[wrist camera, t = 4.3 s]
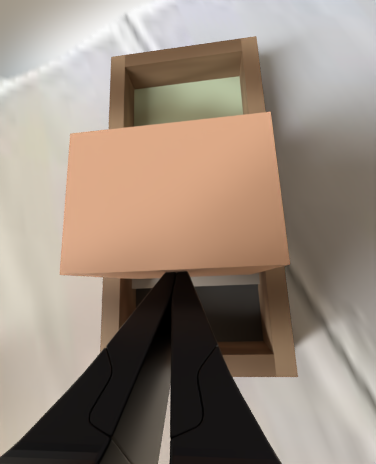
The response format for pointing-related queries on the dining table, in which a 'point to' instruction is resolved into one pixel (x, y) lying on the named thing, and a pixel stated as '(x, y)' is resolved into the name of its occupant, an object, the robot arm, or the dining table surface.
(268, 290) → the box
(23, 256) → the dining table surface
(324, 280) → the dining table surface
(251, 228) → the block
